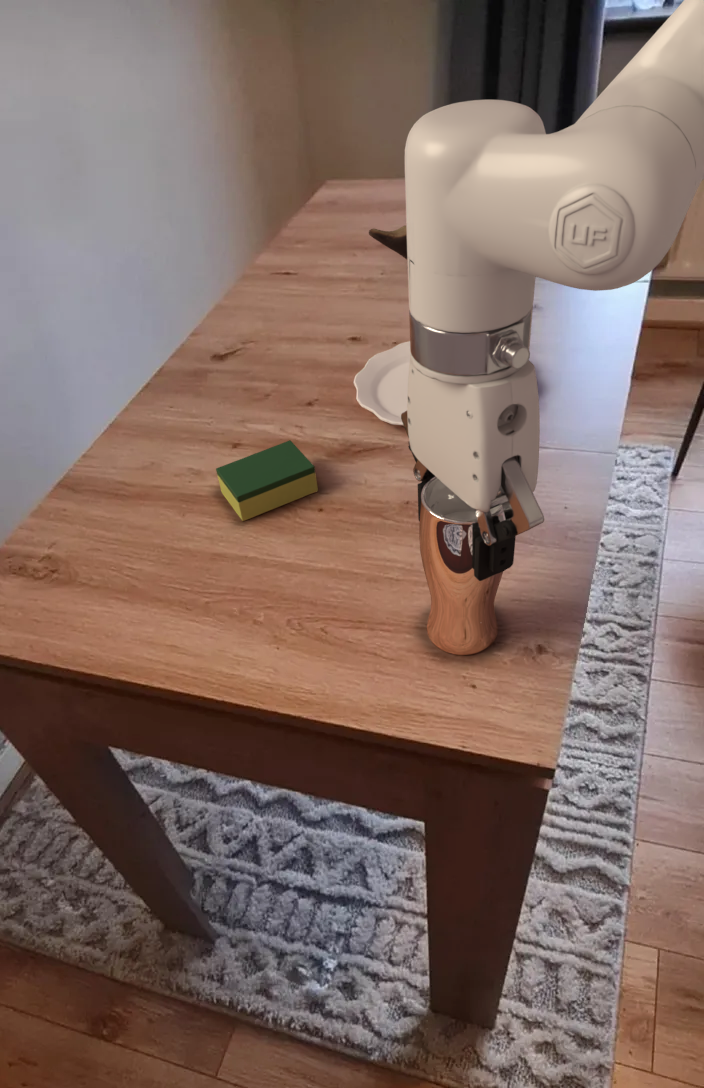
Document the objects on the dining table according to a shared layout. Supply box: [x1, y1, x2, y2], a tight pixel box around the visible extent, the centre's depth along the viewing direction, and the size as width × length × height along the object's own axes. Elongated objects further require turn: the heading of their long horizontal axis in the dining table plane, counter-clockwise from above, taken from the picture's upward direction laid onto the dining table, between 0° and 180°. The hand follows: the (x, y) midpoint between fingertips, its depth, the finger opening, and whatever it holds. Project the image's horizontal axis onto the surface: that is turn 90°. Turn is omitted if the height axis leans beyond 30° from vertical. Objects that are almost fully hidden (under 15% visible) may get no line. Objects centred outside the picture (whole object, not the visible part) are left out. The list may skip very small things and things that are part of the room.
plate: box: [353, 340, 410, 426], centre depth 97 cm, size 21×21×2 cm
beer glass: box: [418, 476, 506, 656], centre depth 65 cm, size 7×7×15 cm
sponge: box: [215, 439, 319, 522], centre depth 86 cm, size 9×6×3 cm, turn 117°
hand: (464, 542), depth 63 cm, fingers closed on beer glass, 7 cm apart
